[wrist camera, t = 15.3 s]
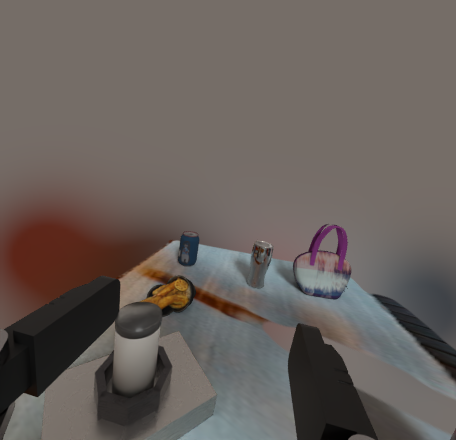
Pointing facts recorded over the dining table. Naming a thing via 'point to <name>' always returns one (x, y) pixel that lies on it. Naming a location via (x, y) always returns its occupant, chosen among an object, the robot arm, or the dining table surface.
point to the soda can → (188, 248)
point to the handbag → (323, 267)
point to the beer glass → (259, 263)
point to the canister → (136, 348)
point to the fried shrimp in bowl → (172, 295)
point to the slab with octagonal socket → (130, 400)
